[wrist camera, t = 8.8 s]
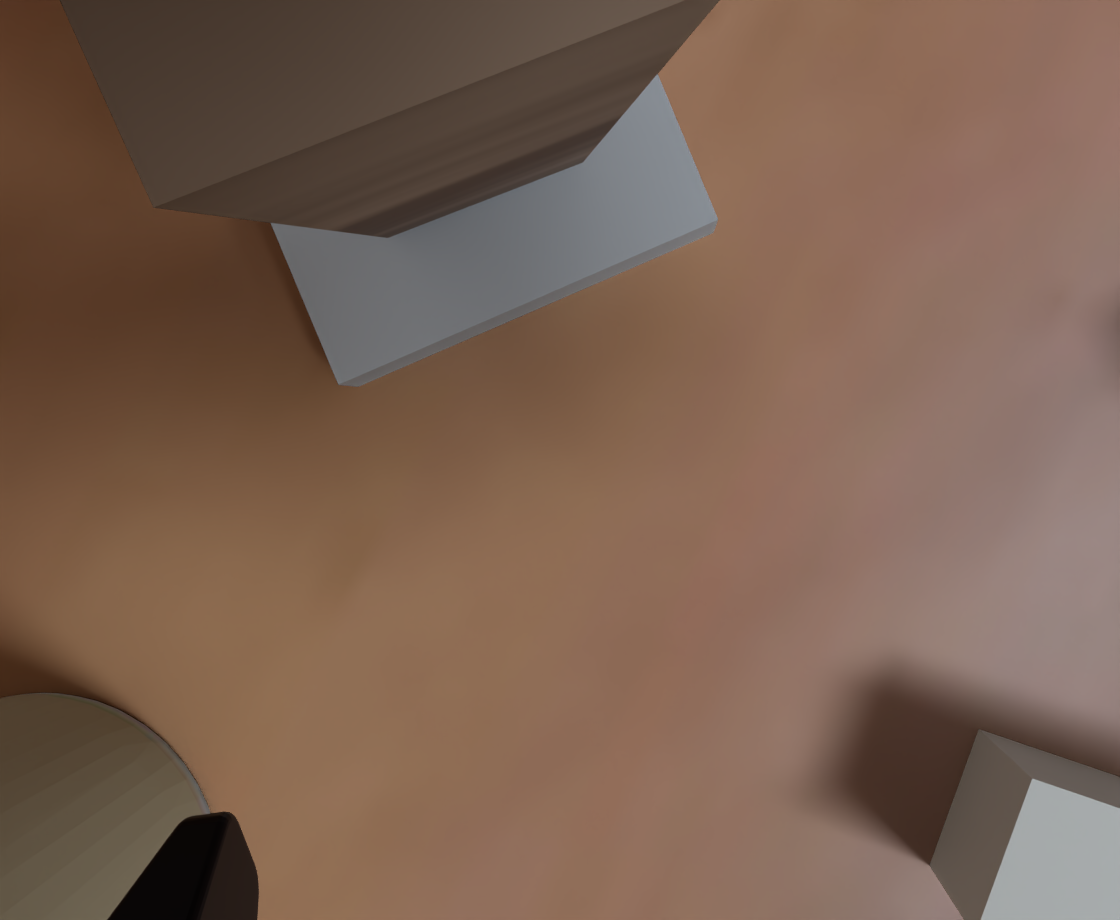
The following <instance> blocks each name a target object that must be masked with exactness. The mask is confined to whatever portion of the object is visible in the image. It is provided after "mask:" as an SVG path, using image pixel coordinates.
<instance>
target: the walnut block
mask: <svg viewBox="0 0 1120 920" xmlns="http://www.w3.org/2000/svg"><path fill="white" fill-rule="evenodd" d="M60 2H61V4H62V6H63V8H64V11H65V13H66V15H67V17H68V20H69V22H70V24H71V26H72V28H73V31H74V33H75V35H76V37H77V39H78V42H79V44H80V46H81V48H82V50H83V53H84V55H85V57H86V59H87V62H88V64H89V66H90V68H91V70H92V73H93V75H94V77H95V79H96V81H97V84H98V86H99V88H100V90H101V93H102V95H103V97H104V99H105V101H106V104H107V106H108V108H109V110H110V112H111V115H112V117H113V119H114V121H115V123H116V126H117V128H118V130H119V132H120V135H121V137H122V139H123V141H124V143H125V146H126V148H127V150H128V152H129V154H130V157H131V159H132V161H133V163H134V166H135V168H136V170H137V172H138V174H139V177H140V179H141V181H142V183H143V185H144V188H145V190H146V192H147V194H148V196H149V199H150V201H151V203H152V205H153V208H161V209H168V210H176V211H184V212H192V213H199V214H207V215H215V216H222V217H230V218H238V219H245V220H253V221H261V222H268V223H276V224H284V225H291V226H299V227H307V228H314V229H322V230H330V231H338V232H345V233H353V234H361V235H368V236H376V237H384V238H389V237H392V236H394V235H397V234H399V233H402V232H405V231H407V230H410V229H412V228H415V227H418V226H420V225H423V224H425V223H428V222H430V221H433V220H436V219H438V218H441V217H443V216H446V215H449V214H451V213H454V212H456V211H459V210H461V209H464V208H467V207H469V206H472V205H474V204H477V203H480V202H482V201H485V200H487V199H490V198H492V197H495V196H498V195H500V194H503V193H505V192H508V191H511V190H513V189H516V188H518V187H521V186H523V185H526V184H529V183H531V182H534V181H536V180H539V179H542V178H544V177H547V176H549V175H552V174H555V173H557V172H560V171H562V170H565V169H567V168H570V167H573V166H575V165H578V164H580V163H583V162H584V161H585V159H586V158H587V157H588V156H589V155H590V153H591V152H592V151H593V150H594V149H595V147H596V146H597V145H598V144H599V143H600V142H601V140H602V139H603V138H604V137H605V136H606V134H607V133H608V132H609V131H610V130H611V129H612V127H613V126H614V125H615V124H616V123H617V121H618V120H619V119H620V118H621V117H622V115H623V114H624V113H625V112H626V111H627V110H628V108H629V107H630V106H631V105H632V104H633V102H634V101H635V100H636V99H637V98H638V97H639V95H640V94H641V93H642V92H643V91H644V89H645V88H646V87H647V86H648V85H649V83H650V82H651V81H652V80H653V79H654V78H655V76H656V75H657V74H658V73H659V72H660V70H661V69H662V68H663V67H664V66H665V64H666V63H667V62H668V61H669V60H670V59H671V57H672V56H673V55H674V54H675V53H676V51H677V50H678V49H679V48H680V47H681V46H682V44H683V43H684V42H685V41H686V40H687V38H688V37H689V36H690V35H691V34H692V32H693V31H694V30H695V29H696V28H697V27H698V25H699V24H700V23H701V22H702V21H703V19H704V18H705V17H706V16H707V15H708V13H709V12H710V11H711V10H712V9H713V8H714V6H715V5H716V4H717V3H718V2H719V0H60Z"/></svg>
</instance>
